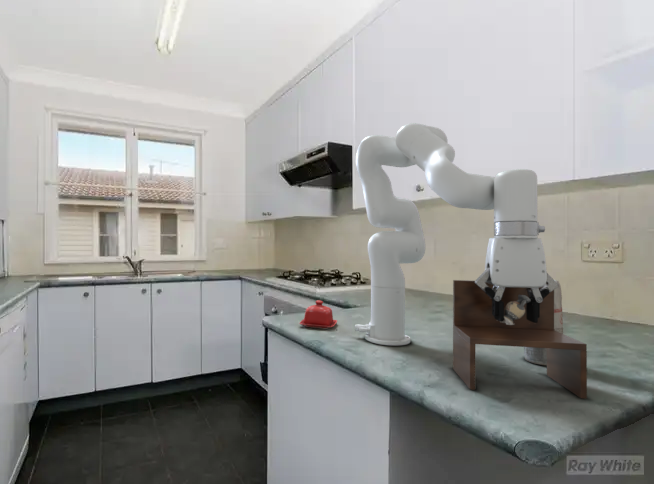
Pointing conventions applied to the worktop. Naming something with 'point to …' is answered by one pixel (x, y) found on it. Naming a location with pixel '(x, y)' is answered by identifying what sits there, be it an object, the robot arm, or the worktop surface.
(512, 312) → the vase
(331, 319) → the butter dish
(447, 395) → the worktop surface
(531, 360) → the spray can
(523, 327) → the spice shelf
